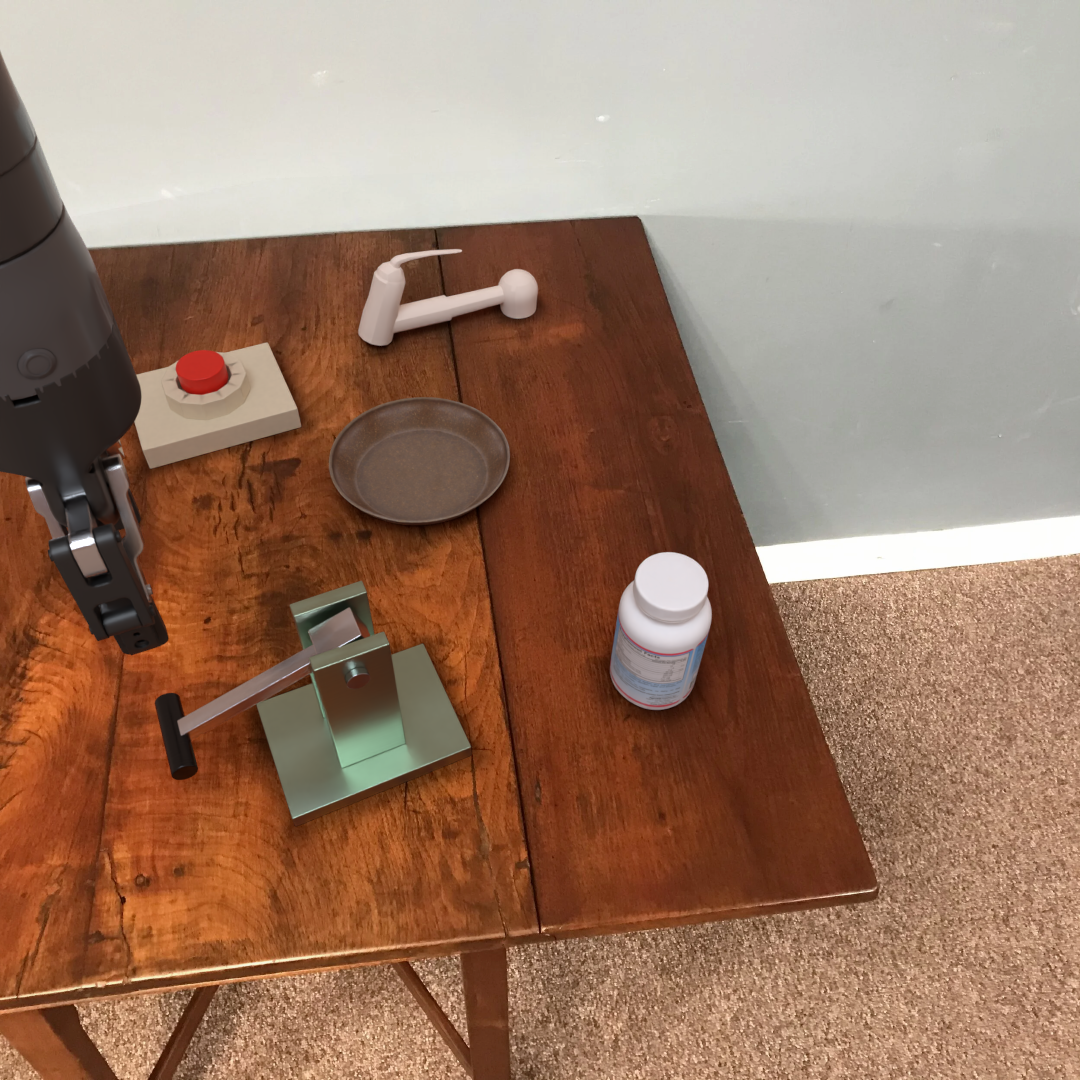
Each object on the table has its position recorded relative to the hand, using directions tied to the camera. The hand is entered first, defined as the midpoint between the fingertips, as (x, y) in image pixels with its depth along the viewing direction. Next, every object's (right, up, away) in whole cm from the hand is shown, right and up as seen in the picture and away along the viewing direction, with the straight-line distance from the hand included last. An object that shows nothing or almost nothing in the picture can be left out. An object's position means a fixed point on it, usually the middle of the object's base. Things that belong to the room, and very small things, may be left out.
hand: (133, 581), depth 49 cm
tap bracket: (+9, -11, +14) cm, 20 cm away
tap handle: (+6, -7, +7) cm, 11 cm away
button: (-8, +16, +32) cm, 36 cm away
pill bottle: (+29, -8, +18) cm, 35 cm away
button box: (-8, +14, +34) cm, 38 cm away
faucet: (+12, +23, +44) cm, 51 cm away
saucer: (+11, +7, +30) cm, 33 cm away
